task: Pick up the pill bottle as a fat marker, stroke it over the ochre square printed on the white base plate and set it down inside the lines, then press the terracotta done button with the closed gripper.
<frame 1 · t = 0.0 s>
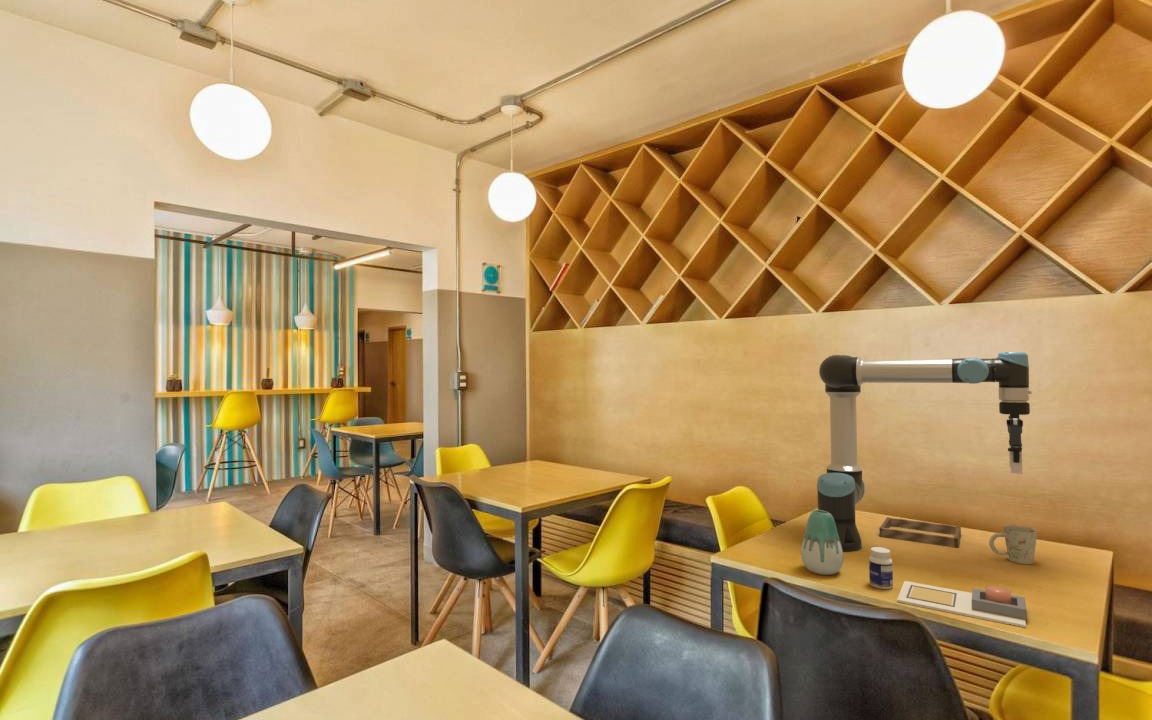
hand: (1015, 470, 178), 28 cm above the table, fingers open, 13 cm apart
vase: (822, 571, 170), on the table
book tray: (920, 535, 205), on the table
mug: (1013, 561, 177), on the table
white base plate: (959, 603, 146), on the table
done button: (998, 596, 141), point 4 cm above the table, slide at 0.0 cm
pill bottle: (881, 586, 158), on the table
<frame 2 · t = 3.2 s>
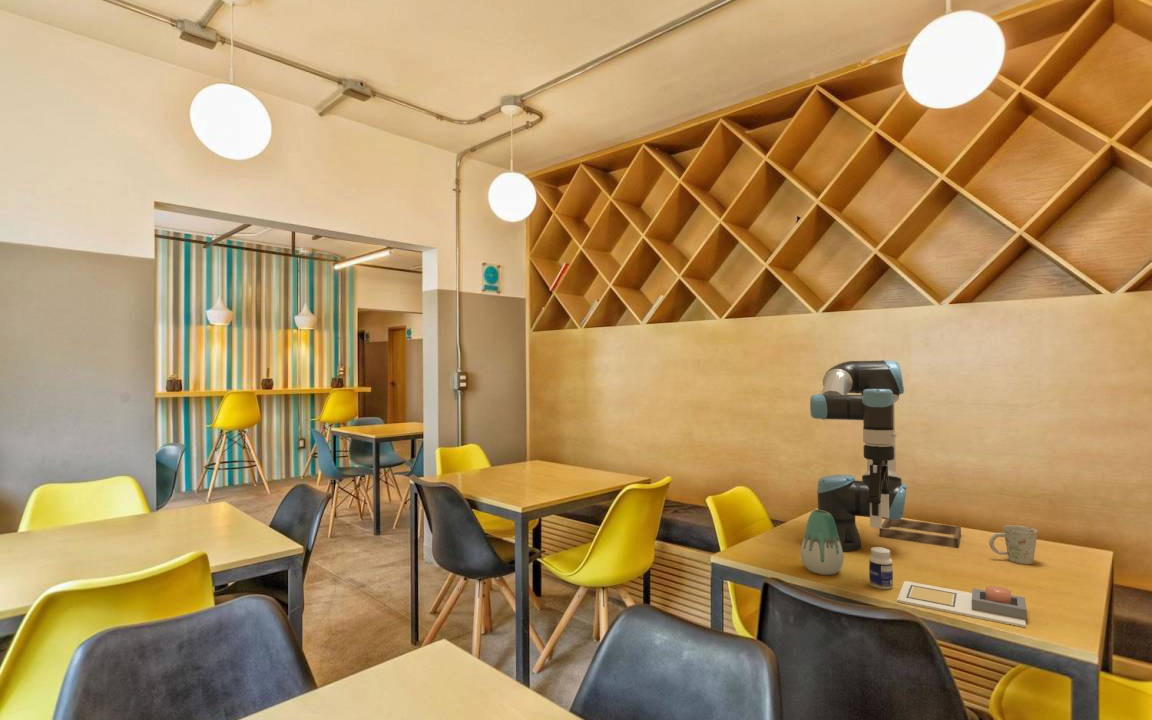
hand: (880, 522, 158), 17 cm above the table, fingers open, 13 cm apart
nothing on the table moved.
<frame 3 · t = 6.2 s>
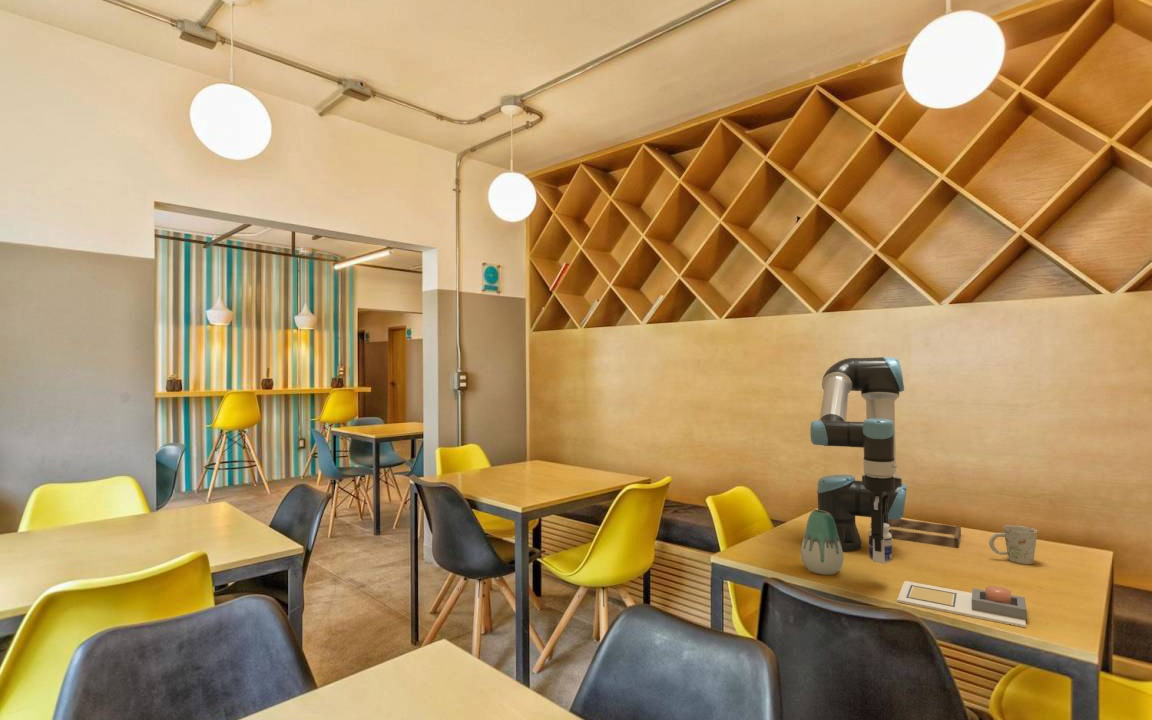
hand: (880, 558, 159), 7 cm above the table, fingers closed on pill bottle, 6 cm apart
pill bottle: (880, 560, 159), point 7 cm above the table, touching gripper
everything else where it was.
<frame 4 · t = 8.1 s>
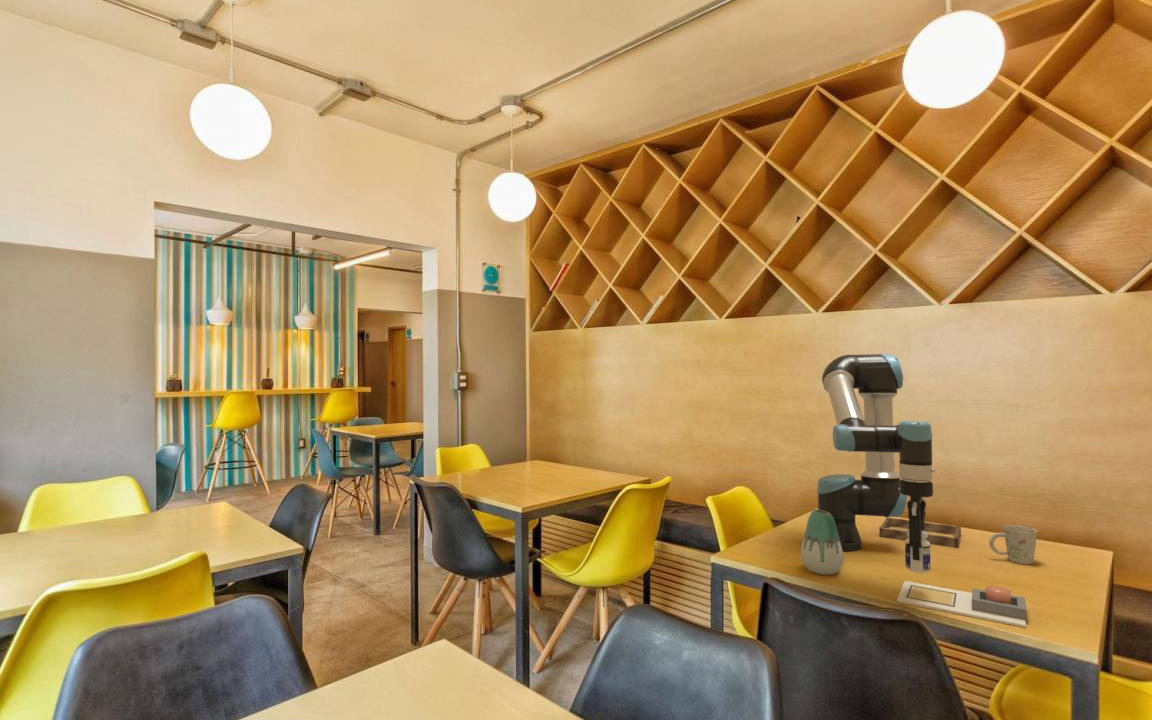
hand: (918, 568, 151), 7 cm above the table, fingers closed on pill bottle, 6 cm apart
pill bottle: (918, 570, 151), point 7 cm above the table, touching gripper
everything else where it was.
when the fingers open (1 cm above the table, at t = 10.1 s): pill bottle stays where it is, resting on white base plate.
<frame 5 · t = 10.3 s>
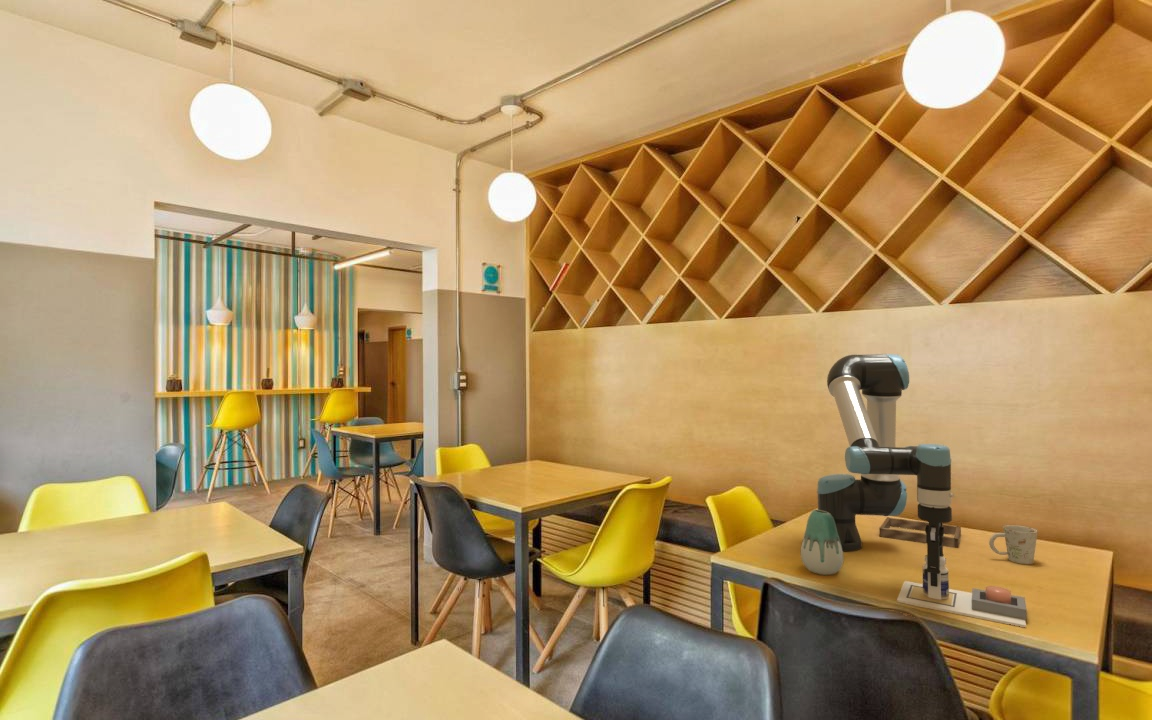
hand: (936, 592, 149), 2 cm above the table, fingers open, 9 cm apart
pill bottle: (935, 596, 149), point 1 cm above the table, touching white base plate
everything else where it was.
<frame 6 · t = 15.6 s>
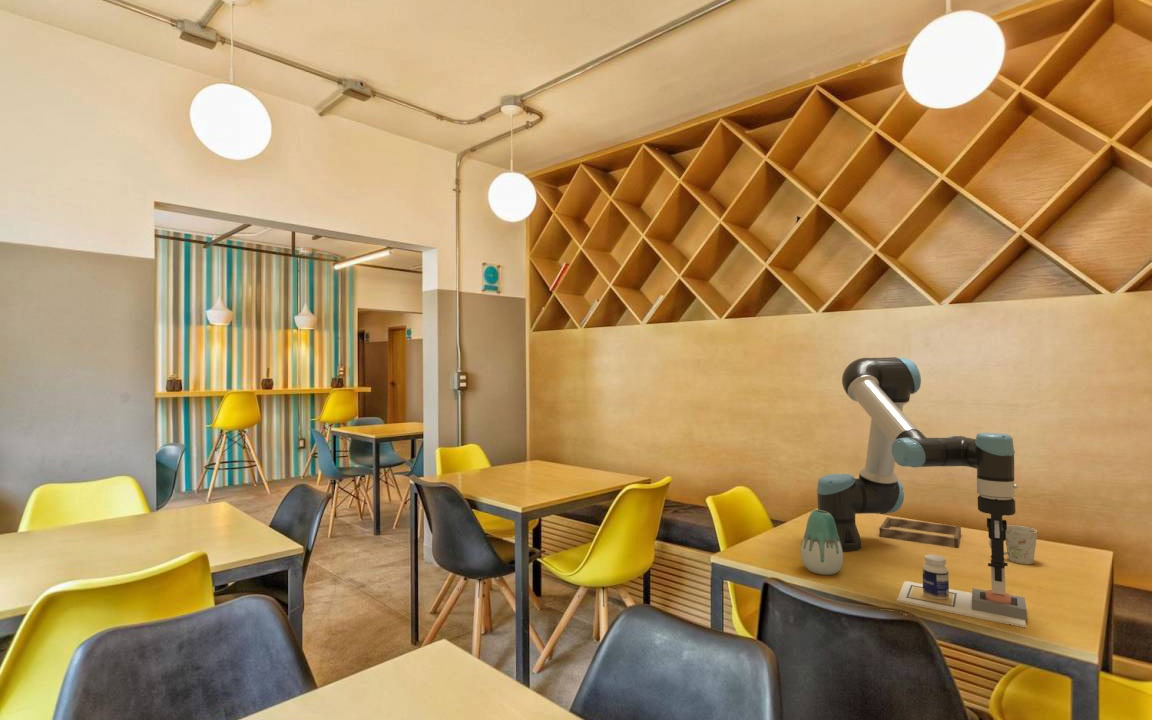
hand: (998, 593, 141), 4 cm above the table, fingers closed
done button: (998, 600, 141), point 3 cm above the table, slide at 1.0 cm, touching gripper
everything else where it was.
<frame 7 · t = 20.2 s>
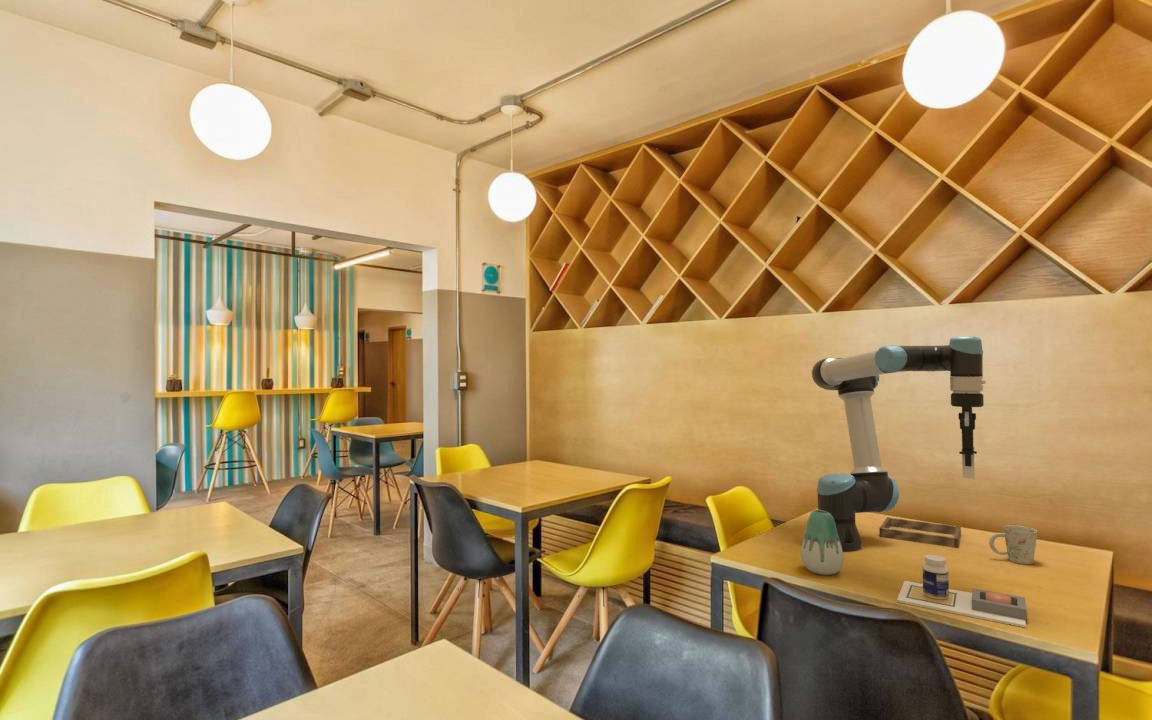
hand: (968, 477, 159), 29 cm above the table, fingers closed
done button: (998, 602, 141), point 2 cm above the table, slide at 1.5 cm, touching white base plate
everything else where it was.
at the end: pill bottle inside the target area on the white base plate (0.9 cm from its centre), point 0.5 cm above the white base plate's base; pill bottle tilted 0°; done button slide at 1.5 cm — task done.
